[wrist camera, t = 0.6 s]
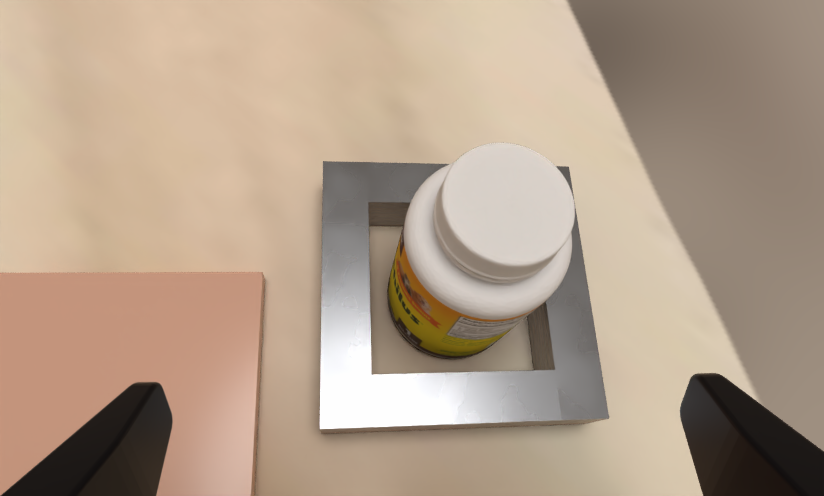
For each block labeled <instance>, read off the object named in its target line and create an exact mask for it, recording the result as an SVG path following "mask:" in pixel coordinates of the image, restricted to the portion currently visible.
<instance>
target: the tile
mask: <svg viewBox="0 0 824 496" xmlns="http://www.w3.org/2000/svg"><path fill="white" fill-rule="evenodd" d="M264 292H265V278H264V275H263V272H164V273H0V495H2V494H3V493H4V492H5V491H6V490H7V489H9V488H10V487H11V486H12V485H13V484H15V483H16V482H17V481H18V480H19V479H20V478H22V477H23V476H24V475H25V474H26V473H28V472H29V471H30V470H31V469H32V468H33V467H35V466H36V465H37V464H38V463H39V462H40V461H42V460H43V459H44V458H45V457H46V456H48V455H49V454H50V453H51V452H52V451H53V450H55V449H56V448H57V447H58V446H59V445H61V444H62V443H63V442H64V441H65V440H66V439H68V438H69V437H70V436H71V435H72V434H73V433H75V432H76V431H77V430H78V429H79V428H81V427H82V426H83V425H84V424H85V423H86V422H88V421H89V420H90V419H91V418H92V417H94V416H95V415H96V414H97V413H98V412H99V411H101V410H102V409H103V408H104V407H105V406H106V405H108V404H109V403H110V402H111V401H112V400H114V399H115V398H116V397H117V396H118V395H119V394H121V393H122V392H123V391H124V390H125V389H126V388H128V387H129V386H130V385H132V384H133V383H136V382H158V383H160V384H161V385H162V387H163V390H164V392H165V395H166V398H167V401H168V404H169V407H170V409H171V412H172V418H173V424H172V430H171V434H170V439H169V443H168V447H167V452H166V456H165V460H164V465H163V469H162V473H161V478H160V482H159V486H158V490H157V495H156V496H254V494H255V474H256V454H257V434H258V413H259V393H260V373H261V353H262V332H263V312H264Z"/></svg>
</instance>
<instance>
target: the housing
mask: <svg viewBox="0 0 824 496" xmlns="http://www.w3.org/2000/svg"><path fill="white" fill-rule="evenodd" d="M447 165H449V164H420V163H374V162H327V161H323V215H322V295H321V375H320V431H321V434H332V433H359V432H385V431H412V430H438V429H465V428H491V427H518V426H545V425H571V424H586V423H591V422H595V421H600V420H604V419H609V415H608V408H607V402H606V396H605V390H604V384H603V377H602V371H601V365H600V359H599V352H598V346H597V340H596V334H595V327H594V321H593V315H592V309H591V303H590V296H589V290H588V284H587V278H586V271H585V265H584V259H583V253H582V246H581V240H580V234H579V228H578V222H577V215H576V209H575V219H574V225H573V228H572V231H571V235H572V253H571V260H570V263H569V267H568V269H567V272H566V274H565V276H564V278H563V280H562V282H561V284H560V285H559V287H558V288H557V289H556V290H555V292H554V293H553V294H552V295H551V296H550V297H549V298H548V299H547V300H546V301H545V302H544V303H543V304H541V305H540V306H539V307H538V308H536V309H535V310H534V311H533V312H532V313H530V314H529V315H528V325H529V333H530V342H531V350H532V358H533V367H534V370H532V371H493V372H453V373H413V374H373V375H372V373H371V320H370V267H369V226H403V225H404V221H405V217H406V214H407V211H408V208H409V205H410V203H411V200H412V199H413V197H414V195H415V193H416V192H417V190H418V189H419V187H420V186H421V185H422V184H423V183H424V182H425V181H426V179H428V178H429V177H430V176H431V175H432V174H434V173H435V172H436V171H438V170H439V169H441V168H443V167H445V166H447ZM556 167H557V168H558V170H559V171H560V172H561V173H562V175H563V176H564V178H565V179H566V181H567V183H568V185H569V187H570V189H571V192H572V195H573V190H572V184H571V178H570V172H569V167H560V166H556ZM573 199H574V197H573ZM574 205H575V203H574Z"/></svg>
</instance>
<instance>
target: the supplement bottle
mask: <svg viewBox="0 0 824 496" xmlns="http://www.w3.org/2000/svg"><path fill="white" fill-rule="evenodd" d="M574 219H575V205H574V199H573V195H572V192H571V189H570V187H569V185H568V183H567V181H566V179H565V178H564V176H563V175H562V173H561V172H560V171H559V170H558V168H557V167H556V166H555V165H554V164H553V163H552V162H550V161H549V160H548V159H547V158H546V157H544V156H542V155H541V154H539V153H537V152H536V151H534V150H532V149H529V148H527V147H524V146H521V145H517V144H511V143H491V144H485V145H481V146H478V147H476V148H473V149H471V150H470V151H468V152H466V153H465V154H463V155H462V156H461V157H459V158H458V159H457V160H456V161H455V162H454V163H451V164H449V165H447V166H445V167H443V168H441V169H439V170H438V171H436V172H435V173H434V174H432V175H431V176H430V177H429V178H428V179H426V181H425V182H424V183H423V184H422V185H421V186H420V187H419V189H418V190H417V192H416V193H415V195H414V197H413V199H412V200H411V203H410V205H409V208H408V211H407V214H406V217H405V221H404V225H403V229H402V233H401V236H400V240H399V244H398V247H397V251H396V255H395V259H394V262H393V266H392V270H391V274H390V278H389V283H388V304H389V309H390V312H391V315H392V318H393V320H394V323H395V324H396V326H397V328H398V329H399V331H400V332H401V333H402V335H403V336H404V337H405V338H406V339H407V340H408V341H409V342H410V343H411V344H412V345H414V346H415V347H417V348H418V349H420V350H421V351H423V352H425V353H428V354H430V355H433V356H437V357H441V358H449V359H457V358H465V357H469V356H473V355H475V354H478V353H480V352H482V351H484V350H486V349H487V348H489V347H490V346H492V345H493V344H494V343H495V342H496V341H498V340H499V339H500V338H501V337H502V336H504V335H505V334H506V333H507V332H509V331H510V330H511V329H512V328H513V327H515V326H516V325H517V324H518V323H519V322H521V321H522V320H523V319H524V318H525V317H527V316H528V315H529V314H530V313H532V312H533V311H534V310H535V309H536V308H538V307H539V306H540V305H541V304H543V303H544V302H545V301H546V300H547V299H548V298H549V297H550V296H551V295H552V294H553V293H554V292H555V290H556V289H557V288H558V287H559V285H560V284H561V282H562V280H563V278H564V276H565V274H566V272H567V269H568V267H569V263H570V260H571V253H572V235H571V231H572V228H573V225H574Z"/></svg>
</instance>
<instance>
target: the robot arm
mask: <svg viewBox="0 0 824 496" xmlns="http://www.w3.org/2000/svg"><path fill="white" fill-rule="evenodd" d="M680 417H681V422H682V425H683V428H684V432H685V435H686V439H687V442H688V445H689V449H690V452H691V456H692V459H693V462H694V466H695V469H696V473H697V476H698V480H699V483H700V486H701V490H702V493H703V496H824V451H822V450H821V449H820V448H818V447H817V446H816V445H814V444H813V443H812V442H810V441H809V440H808V439H806V438H805V437H804V436H802V435H801V434H800V433H798V432H797V431H795V430H794V429H793V428H792V427H790V426H788V424H786V423H785V422H783V421H782V420H781V419H779V418H778V417H777V416H776V415H774V414H773V413H772V412H770V411H769V410H768V409H766V408H765V407H764V406H762V405H761V404H760V403H758V402H757V401H756V400H754V399H753V398H752V397H750V396H749V395H748V394H746V393H745V392H744V391H742V390H741V389H740V388H738V387H737V386H736V385H734V384H733V383H732V382H730V381H729V380H728V379H726V378H725V377H723V376H722V375H720V374H716V373H700V374H694V375H693V376H692V377H691V379H690V381H689V384H688V387H687V390H686V392H685V395H684V398H683V401H682V403H681V407H680ZM172 424H173V418H172V412H171V409H170V407H169V404H168V401H167V398H166V395H165V392H164V390H163V387H162V385H161V384H160V383H158V382H136V383H133V384H132V385H130V386H129V387H128V388H126V389H125V390H124V391H123V392H122V393H121V394H119V395H118V396H117V397H116V398H115V399H114V400H112V401H111V402H110V403H109V404H108V405H106V406H105V407H104V408H103V409H102V410H101V411H99V412H98V413H97V414H96V415H95V416H94V417H92V418H91V419H90V420H89V421H88V422H86V423H85V424H84V425H83V426H82V427H81V428H79V429H78V430H77V431H76V432H75V433H73V434H72V435H71V436H70V437H69V438H68V439H66V440H65V441H64V442H63V443H62V444H61V445H59V446H58V447H57V448H56V449H55V450H53V451H52V452H51V453H50V454H49V455H48V456H46V457H45V458H44V459H43V460H42V461H40V462H39V463H38V464H37V465H36V466H35V467H33V468H32V469H31V470H30V471H29V472H28V473H26V474H25V475H24V476H23V477H22V478H20V479H19V480H18V481H17V482H16V483H15V484H13V485H12V486H11V487H10V488H9V489H7V490H6V491H5V492H4V493H3V494H2V495H0V496H156V495H157V490H158V486H159V482H160V478H161V473H162V469H163V465H164V460H165V456H166V452H167V447H168V443H169V439H170V434H171V430H172Z"/></svg>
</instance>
